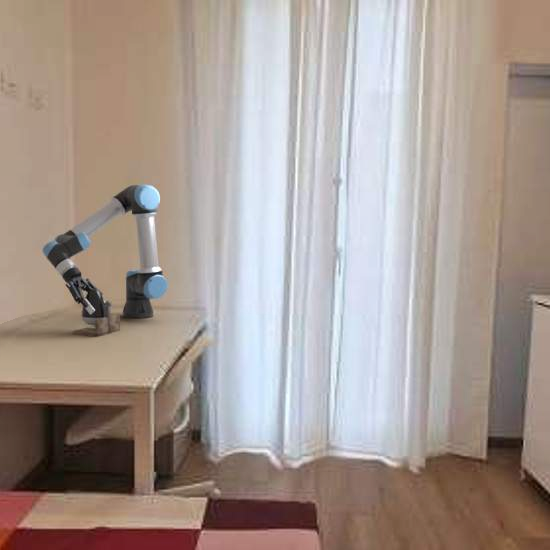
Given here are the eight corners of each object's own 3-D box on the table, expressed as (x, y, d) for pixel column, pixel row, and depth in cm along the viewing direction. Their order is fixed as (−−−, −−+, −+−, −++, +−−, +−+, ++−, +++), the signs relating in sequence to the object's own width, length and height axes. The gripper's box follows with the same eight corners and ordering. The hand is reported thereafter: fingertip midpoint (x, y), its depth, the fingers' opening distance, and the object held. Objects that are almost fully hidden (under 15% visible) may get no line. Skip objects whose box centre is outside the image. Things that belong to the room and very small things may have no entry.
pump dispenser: (109, 322, 282) (110, 287, 281) (101, 326, 272) (101, 290, 270) (87, 321, 283) (87, 287, 282) (77, 325, 273) (77, 289, 271)
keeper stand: (94, 328, 287) (94, 297, 286) (121, 330, 283) (121, 299, 281) (72, 334, 272) (71, 301, 271) (99, 336, 268) (99, 303, 266)
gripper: (80, 275, 291) (109, 313, 287) (46, 279, 270) (78, 320, 267) (90, 264, 289) (120, 302, 285) (57, 267, 268) (89, 308, 264)
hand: (100, 310), depth 276 cm, fingers closed on pump dispenser, 10 cm apart
